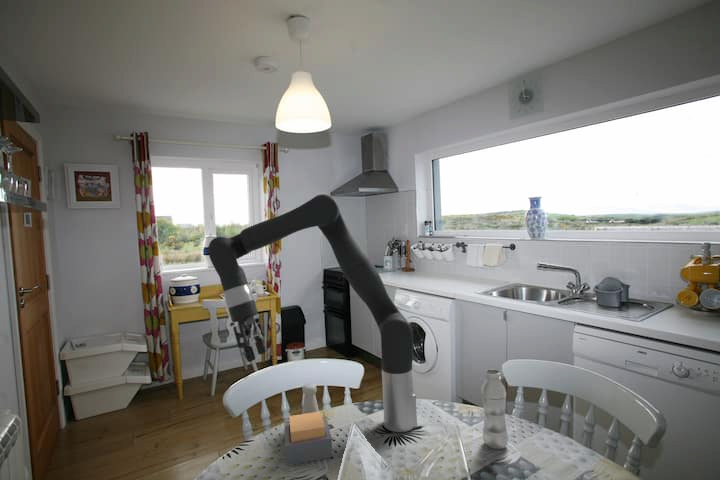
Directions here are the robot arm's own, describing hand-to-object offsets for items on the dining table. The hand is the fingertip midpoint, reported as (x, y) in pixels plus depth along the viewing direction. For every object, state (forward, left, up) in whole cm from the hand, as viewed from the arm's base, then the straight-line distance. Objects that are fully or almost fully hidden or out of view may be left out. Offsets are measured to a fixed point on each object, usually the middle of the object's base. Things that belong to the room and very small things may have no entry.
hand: (257, 356), depth 106 cm
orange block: (-13, +8, -20) cm, 25 cm away
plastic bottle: (-62, +22, -25) cm, 70 cm away
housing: (-13, +8, -24) cm, 29 cm away
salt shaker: (-15, -3, -25) cm, 29 cm away
